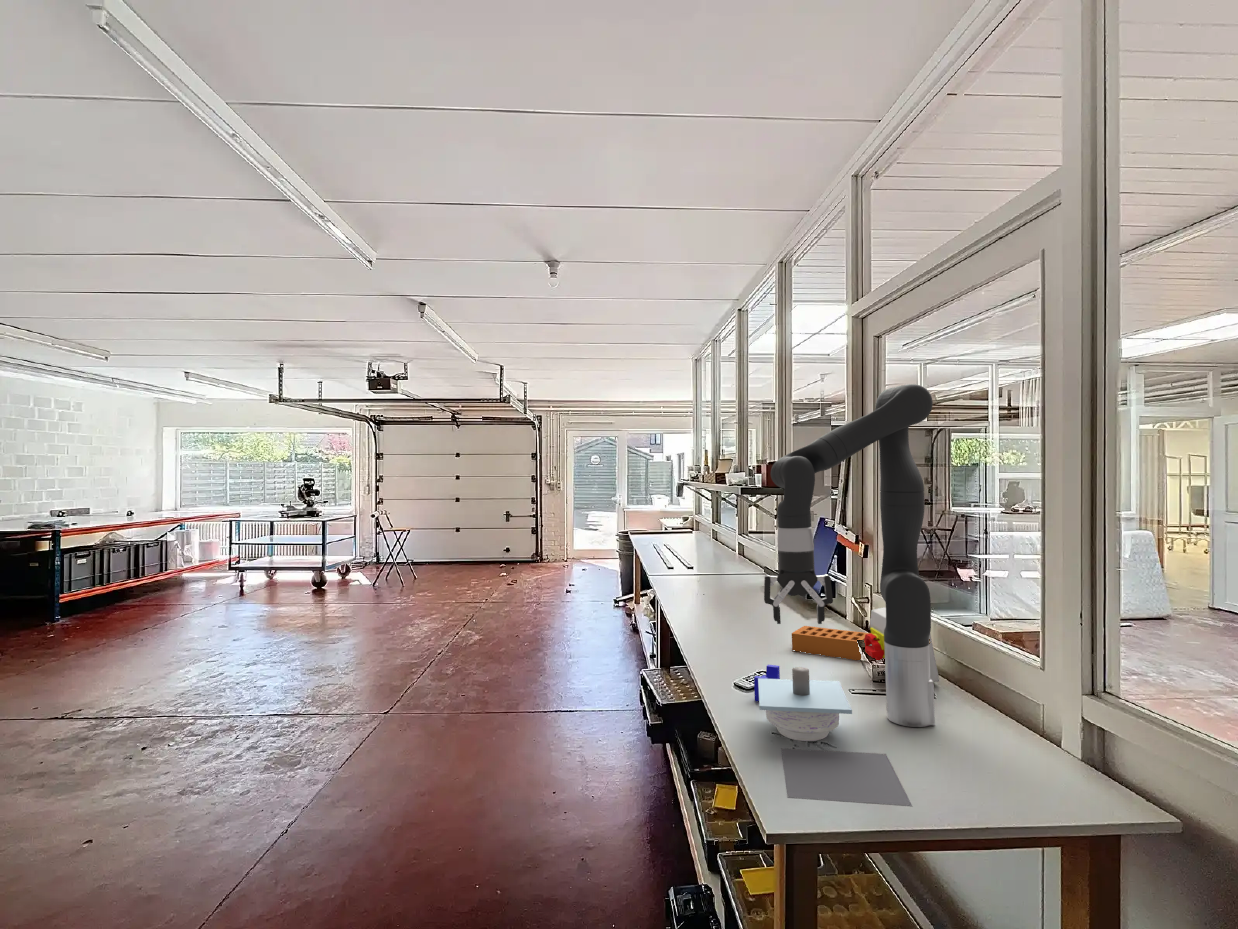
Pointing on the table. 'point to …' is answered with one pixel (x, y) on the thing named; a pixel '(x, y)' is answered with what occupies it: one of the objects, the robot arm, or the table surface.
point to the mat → (842, 777)
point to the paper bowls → (803, 724)
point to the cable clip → (771, 673)
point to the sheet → (803, 703)
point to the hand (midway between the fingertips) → (798, 623)
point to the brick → (828, 642)
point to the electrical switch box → (878, 641)
